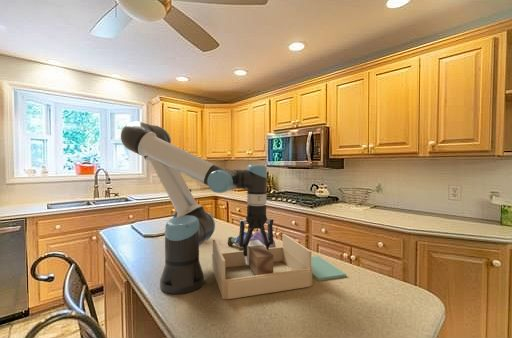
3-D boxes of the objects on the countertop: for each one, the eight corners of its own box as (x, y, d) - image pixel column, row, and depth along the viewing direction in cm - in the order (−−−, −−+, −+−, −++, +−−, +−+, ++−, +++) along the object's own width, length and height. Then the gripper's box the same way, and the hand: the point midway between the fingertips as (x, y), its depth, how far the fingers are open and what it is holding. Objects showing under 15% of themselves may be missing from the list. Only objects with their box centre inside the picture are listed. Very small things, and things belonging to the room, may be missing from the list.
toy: (223, 250, 133) (265, 262, 111) (222, 229, 133) (264, 237, 111) (249, 243, 145) (291, 253, 123) (248, 224, 145) (290, 230, 124)
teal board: (318, 280, 95) (318, 278, 95) (294, 261, 114) (294, 259, 114) (346, 276, 98) (346, 274, 98) (318, 258, 118) (318, 256, 118)
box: (256, 277, 89) (257, 256, 89) (244, 258, 106) (244, 241, 106) (273, 275, 91) (273, 254, 91) (258, 257, 108) (258, 240, 108)
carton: (223, 300, 81) (223, 262, 81) (211, 267, 107) (211, 238, 107) (313, 286, 90) (314, 252, 90) (283, 259, 116) (283, 232, 116)
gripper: (234, 206, 94) (233, 269, 94) (283, 205, 100) (282, 264, 100) (230, 203, 101) (229, 261, 102) (276, 202, 107) (275, 257, 107)
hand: (255, 262), depth 101 cm, fingers closed on box, 6 cm apart
